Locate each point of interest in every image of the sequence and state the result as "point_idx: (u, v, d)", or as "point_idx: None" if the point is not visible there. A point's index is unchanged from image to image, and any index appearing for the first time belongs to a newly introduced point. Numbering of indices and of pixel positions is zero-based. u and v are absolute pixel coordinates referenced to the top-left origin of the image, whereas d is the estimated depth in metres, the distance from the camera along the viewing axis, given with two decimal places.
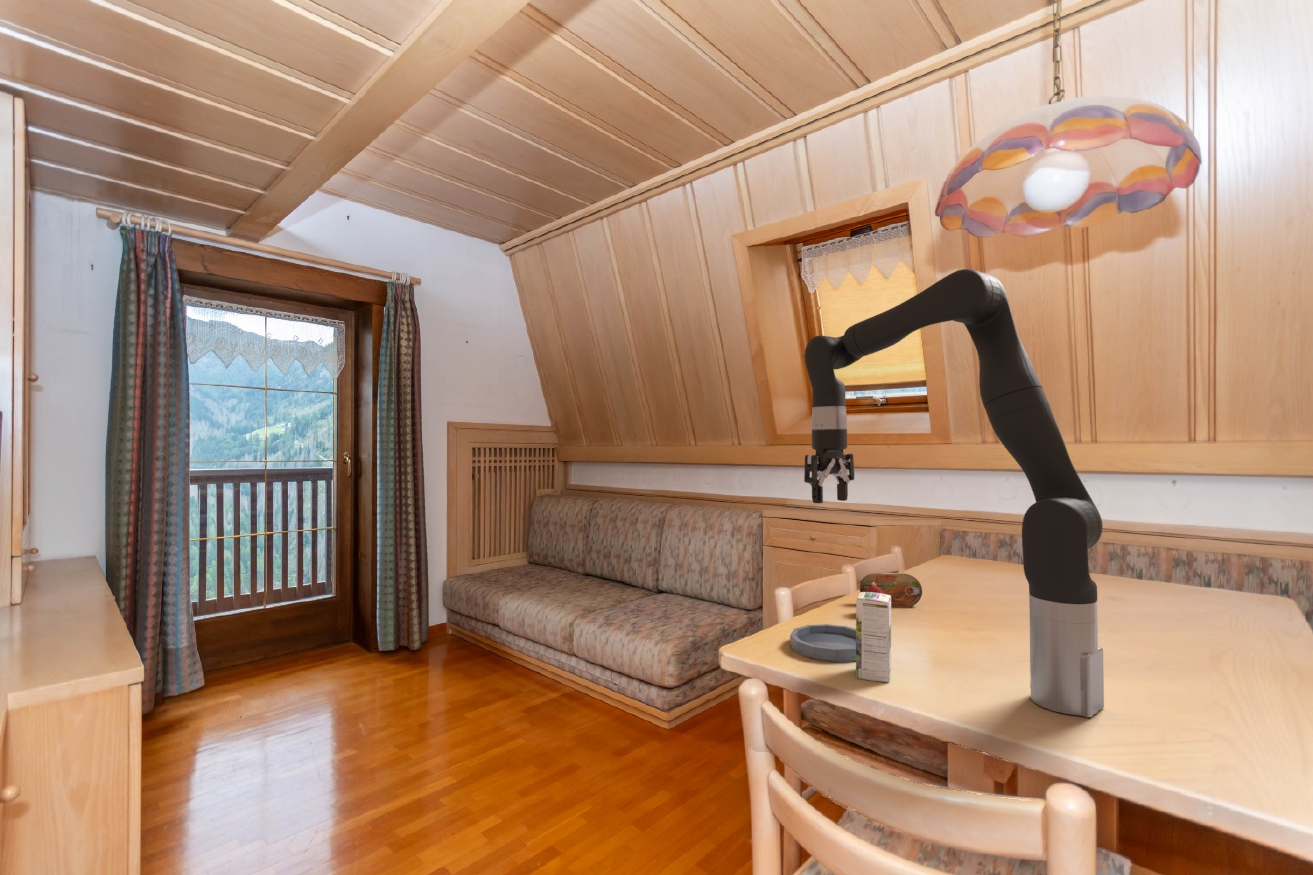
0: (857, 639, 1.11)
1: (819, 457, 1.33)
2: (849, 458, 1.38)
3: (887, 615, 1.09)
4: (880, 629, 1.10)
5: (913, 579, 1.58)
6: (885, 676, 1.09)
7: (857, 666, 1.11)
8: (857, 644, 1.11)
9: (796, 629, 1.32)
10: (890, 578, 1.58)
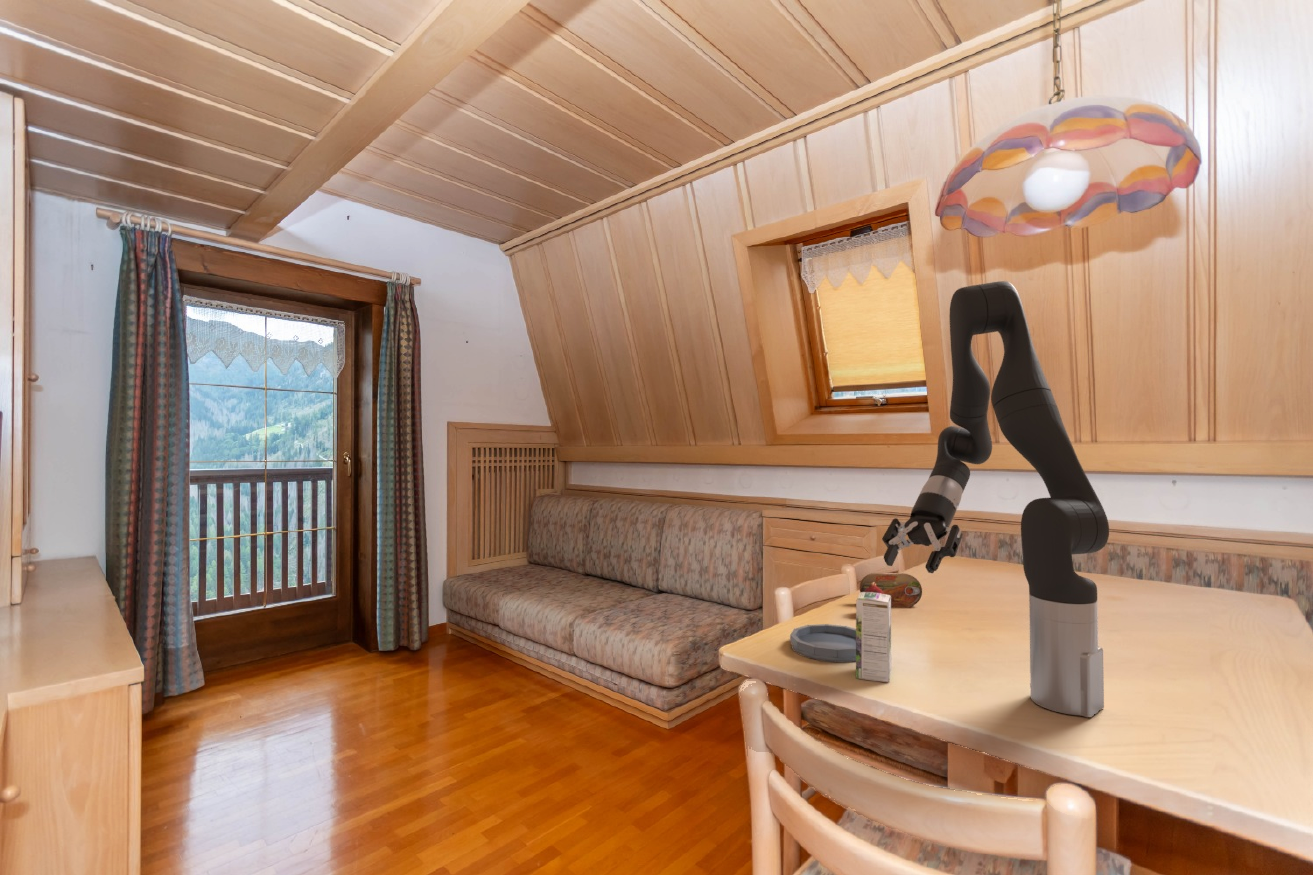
0: (857, 639, 1.11)
1: None
2: (951, 529, 1.19)
3: (887, 615, 1.09)
4: (880, 629, 1.10)
5: (913, 579, 1.58)
6: (885, 676, 1.09)
7: (857, 666, 1.11)
8: (857, 644, 1.11)
9: (796, 629, 1.32)
10: (890, 578, 1.58)
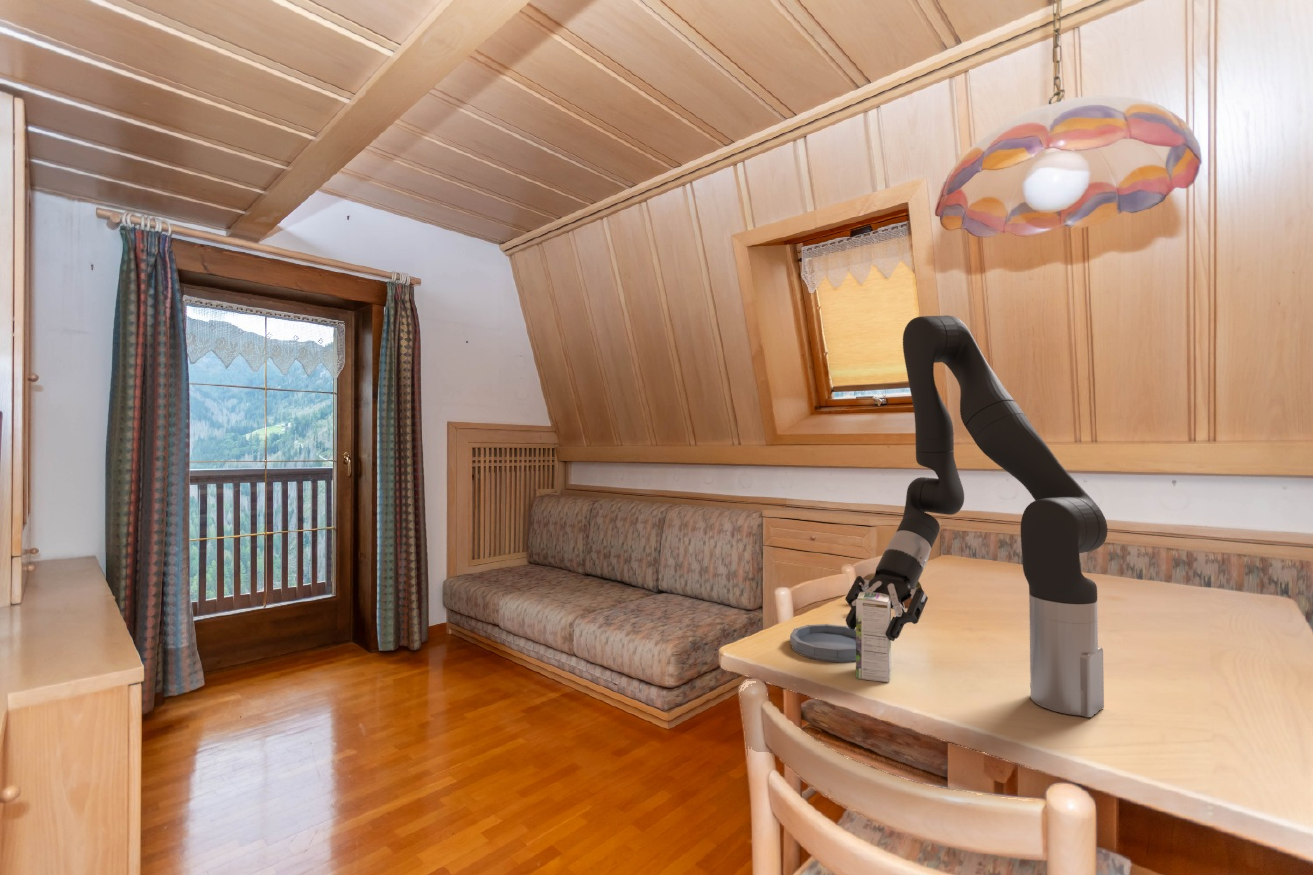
0: (857, 639, 1.11)
1: None
2: (915, 592, 1.11)
3: (887, 615, 1.09)
4: (880, 629, 1.10)
5: None
6: (885, 676, 1.10)
7: (857, 666, 1.11)
8: (857, 644, 1.11)
9: (796, 629, 1.32)
10: None
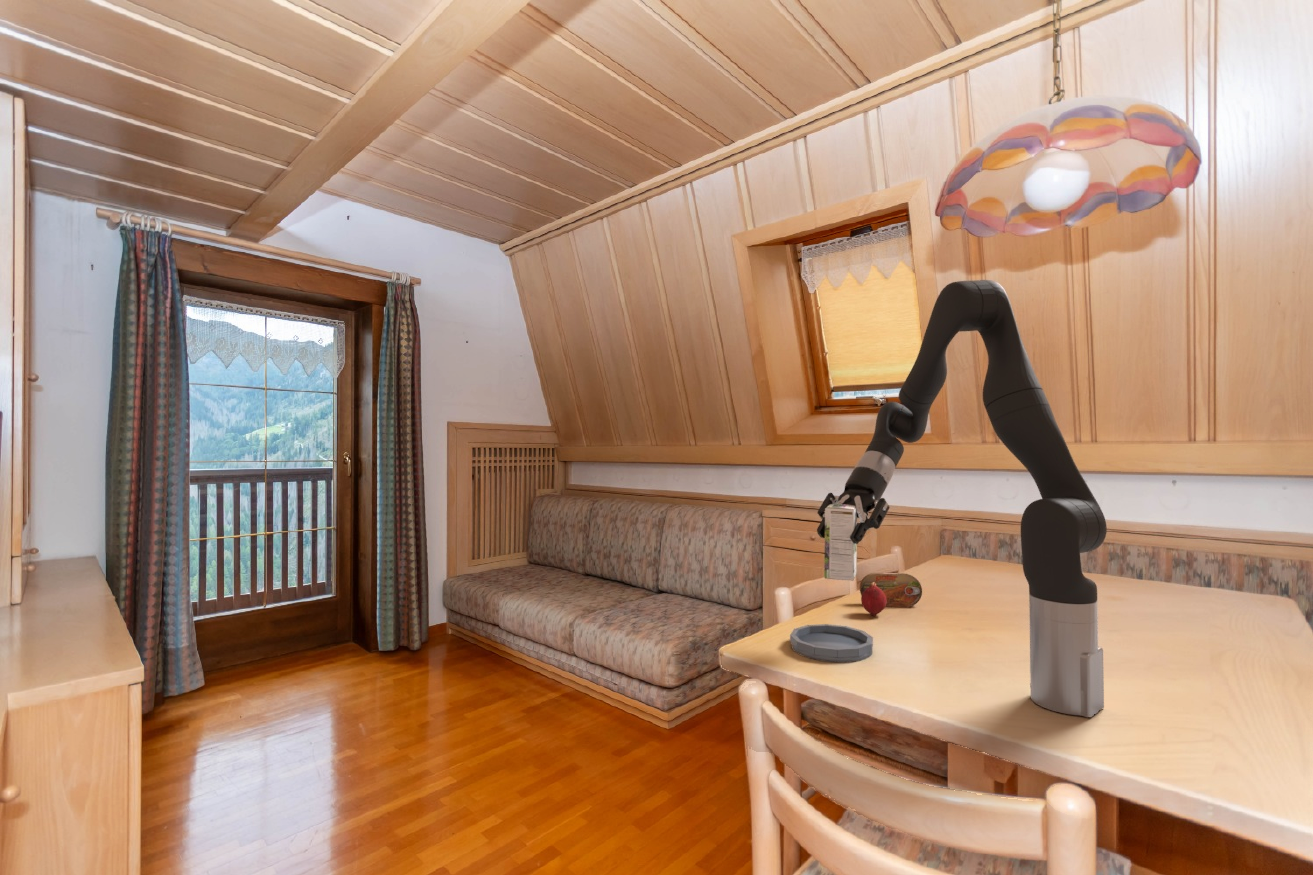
0: (825, 543, 1.24)
1: None
2: None
3: (852, 521, 1.22)
4: (846, 534, 1.22)
5: (913, 579, 1.58)
6: (849, 576, 1.22)
7: (825, 567, 1.24)
8: (825, 548, 1.24)
9: (796, 629, 1.32)
10: (890, 578, 1.59)
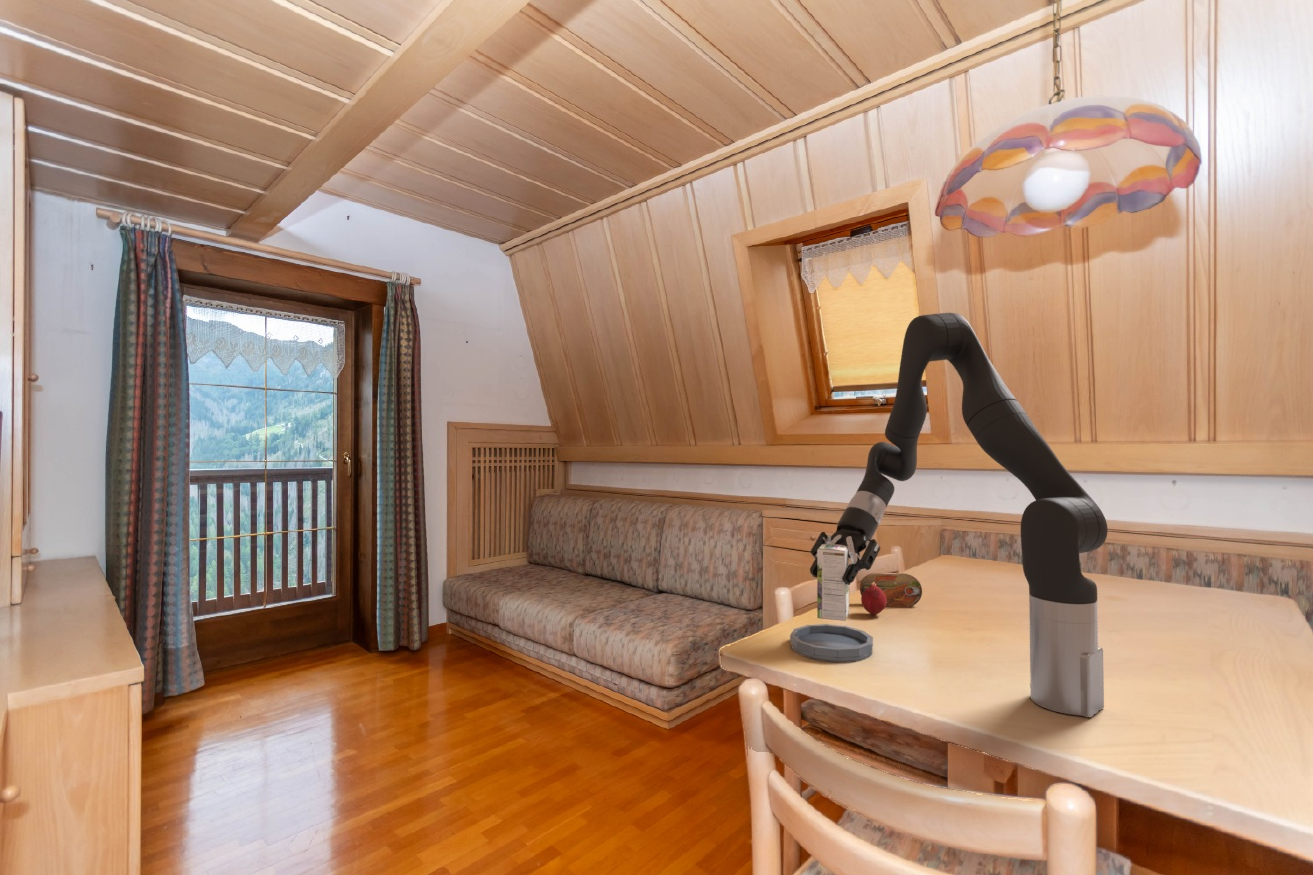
0: (818, 584, 1.27)
1: (832, 536, 1.35)
2: None
3: (844, 562, 1.25)
4: (838, 575, 1.25)
5: (913, 579, 1.58)
6: (842, 616, 1.25)
7: (818, 607, 1.27)
8: (818, 588, 1.27)
9: (796, 629, 1.32)
10: (890, 578, 1.58)
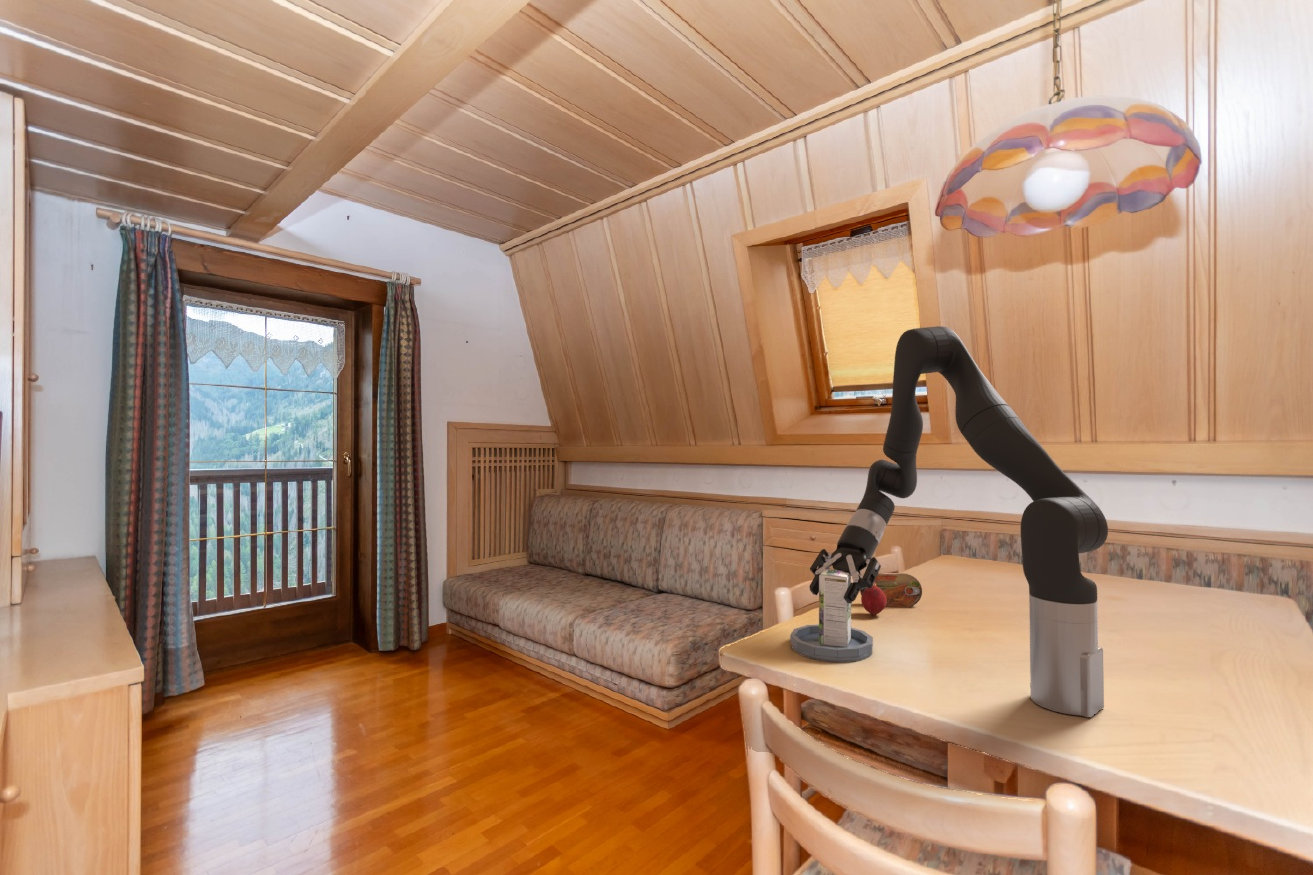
0: (820, 610, 1.27)
1: None
2: None
3: (845, 588, 1.25)
4: (839, 601, 1.25)
5: (913, 579, 1.58)
6: (843, 642, 1.25)
7: (820, 633, 1.27)
8: (820, 614, 1.27)
9: (796, 629, 1.32)
10: (890, 578, 1.58)
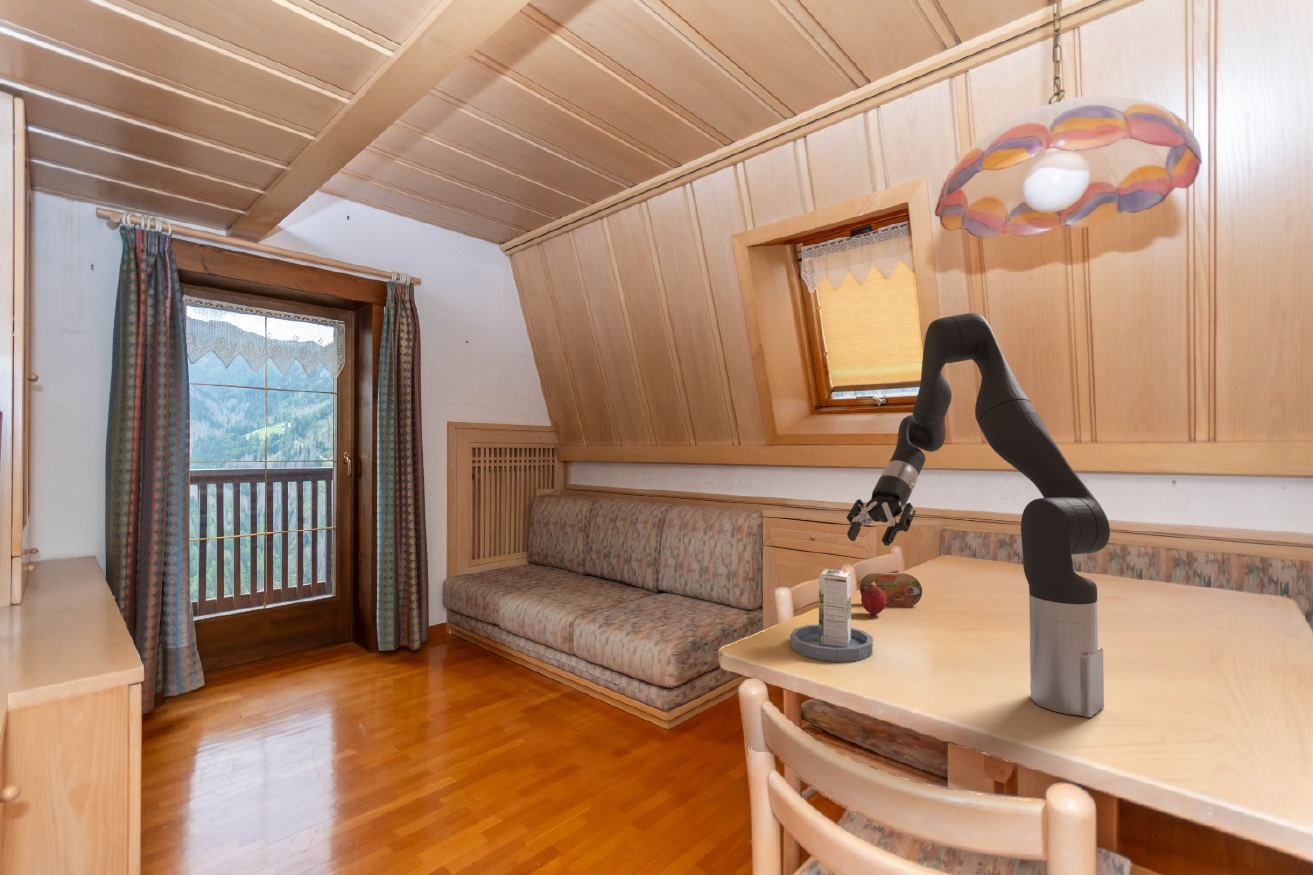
0: (820, 610, 1.27)
1: None
2: (905, 507, 1.34)
3: (845, 588, 1.25)
4: (839, 601, 1.25)
5: (913, 579, 1.58)
6: (843, 642, 1.25)
7: (820, 633, 1.27)
8: (820, 614, 1.27)
9: (796, 629, 1.32)
10: (890, 578, 1.59)
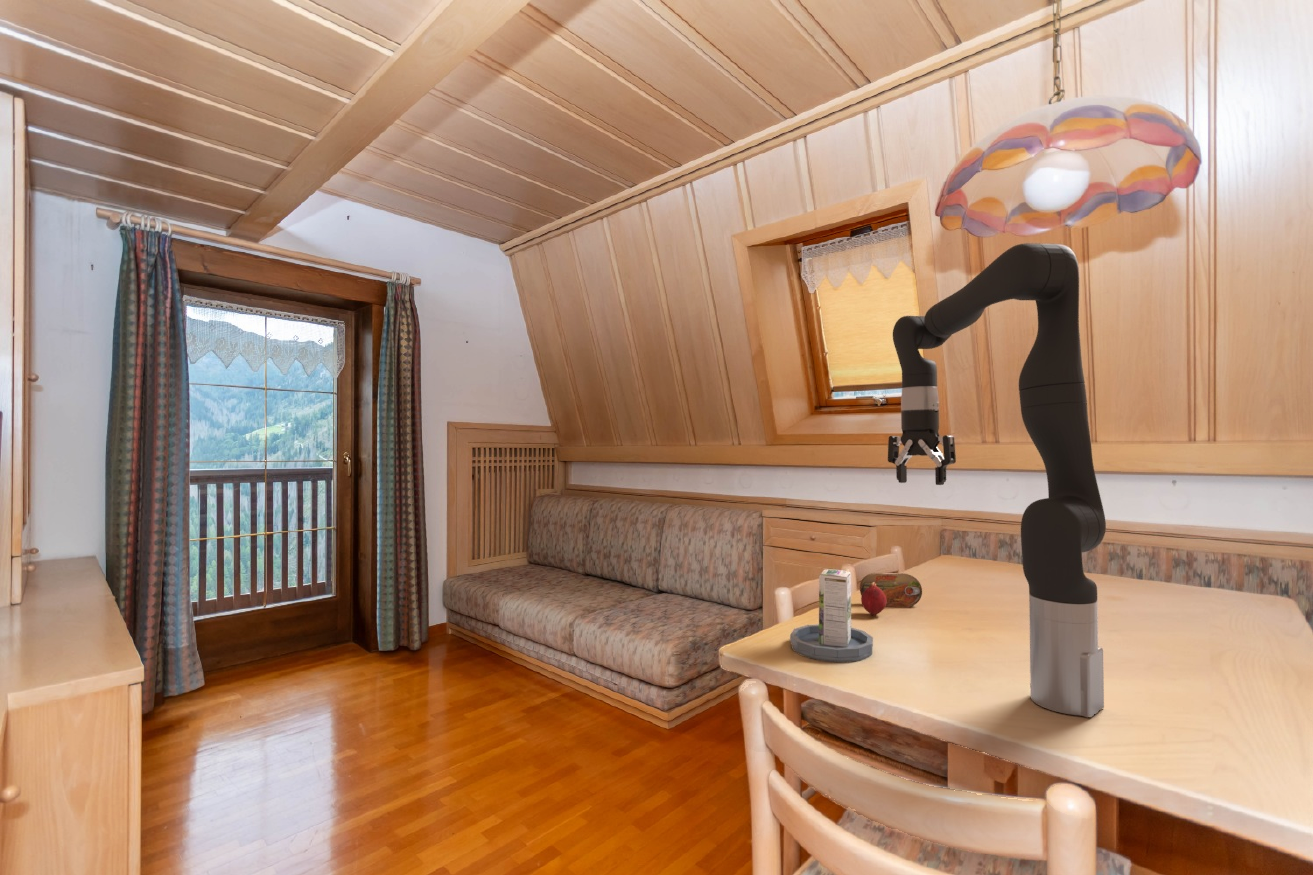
0: (820, 610, 1.27)
1: (901, 438, 1.37)
2: (943, 440, 1.29)
3: (845, 588, 1.25)
4: (839, 601, 1.25)
5: (913, 579, 1.58)
6: (843, 642, 1.25)
7: (820, 633, 1.27)
8: (820, 614, 1.27)
9: (796, 629, 1.32)
10: (890, 578, 1.59)
